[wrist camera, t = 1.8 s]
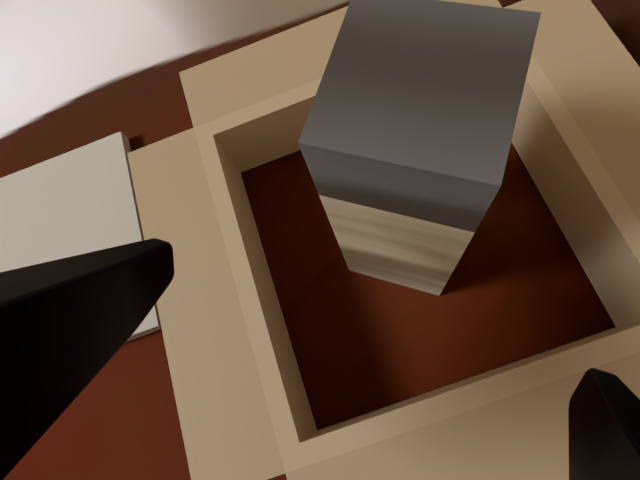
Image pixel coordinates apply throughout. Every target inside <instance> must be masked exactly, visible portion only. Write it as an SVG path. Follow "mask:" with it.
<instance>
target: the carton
mask: <svg viewBox="0 0 640 480" xmlns="http://www.w3.org/2000/svg"><path fill="white" fill-rule="evenodd" d="M440 1H449V2H457V3H466V4H474V5H482V6H491V7H499V8H502V6H501V5H500V3H499V1H498V0H440ZM504 8H508V9H516V10H524V11H533V12H541V16H540V20H539V24H538V29H537V33H536V37H535V42H534V46H533V50H532V55H531V59H530V63H529V68H528V72H527V76H526V81H525V85H524V89H523V93H522V98H521V102H520V106H519V111H518V115H517V119H516V124H515V128H514V132H513V137H512V141H511V142H512V144H513V146H514V147H515V149H516V151H517V153H518V154H519V156H520V158H521V160H522V162H523V163H524V165H525V167H526V169H527V170H528V172H529V174H530V176H531V177H532V179H533V181H534V183H535V185H536V186H537V188H538V190H539V192H540V193H541V195H542V197H543V199H544V201H545V202H546V204H547V206H548V208H549V209H550V211H551V213H552V215H553V216H554V218H555V220H556V222H557V224H558V225H559V227H560V229H561V231H562V232H563V234H564V236H565V238H566V239H567V241H568V243H569V245H570V247H571V248H572V250H573V252H574V254H575V255H576V257H577V259H578V261H579V262H580V264H581V266H582V268H583V270H584V271H585V273H586V275H587V277H588V278H589V280H590V282H591V284H592V285H593V287H594V289H595V291H596V293H597V294H598V296H599V298H600V300H601V301H602V303H603V305H604V307H605V308H606V310H607V312H608V314H609V316H610V317H611V319H612V321H613V323H614V324H615V326H616V327H615V328H612V329H609V330H606V331H603V332H600V333H597V334H594V335H592V336H589V337H586V338H583V339H580V340H577V341H574V342H571V343H568V344H566V345H563V346H560V347H557V348H554V349H551V350H548V351H545V352H543V353H540V354H537V355H534V356H531V357H528V358H525V359H522V360H519V361H517V362H514V363H511V364H508V365H505V366H502V367H499V368H496V369H493V370H491V371H488V372H485V373H482V374H479V375H476V376H473V377H470V378H467V379H465V380H462V381H459V382H456V383H453V384H450V385H447V386H444V387H442V388H439V389H436V390H433V391H430V392H427V393H424V394H421V395H418V396H416V397H413V398H410V399H407V400H404V401H401V402H398V403H395V404H392V405H390V406H387V407H384V408H381V409H378V410H375V411H372V412H369V413H366V414H364V415H361V416H358V417H355V418H352V419H349V420H346V421H343V422H341V423H338V424H335V425H332V426H329V427H326V428H323V429H320V430H317V428H316V424H315V421H314V418H313V414H312V411H311V408H310V404H309V401H308V398H307V394H306V391H305V388H304V384H303V381H302V377H301V374H300V371H299V367H298V364H297V361H296V357H295V354H294V351H293V347H292V344H291V340H290V337H289V334H288V330H287V327H286V324H285V320H284V317H283V314H282V310H281V307H280V304H279V300H278V297H277V293H276V290H275V287H274V283H273V280H272V277H271V273H270V270H269V267H268V263H267V260H266V257H265V253H264V250H263V246H262V243H261V240H260V236H259V233H258V230H257V226H256V223H255V220H254V216H253V213H252V209H251V206H250V203H249V199H248V196H247V193H246V189H245V186H244V183H243V179H242V176H241V172H244V171H246V170H249V169H251V168H254V167H257V166H259V165H262V164H265V163H267V162H270V161H273V160H275V159H278V158H280V157H283V156H286V155H288V154H291V153H294V152H296V151H299V150H300V147H299V145H298V141H299V138H300V136H301V133H302V130H303V128H304V125H305V122H306V120H307V117H308V114H309V111H310V109H311V106H312V103H313V101H314V98H315V95H316V93H317V90H318V87H319V84H320V82H321V79H322V76H323V74H324V71H325V68H326V65H327V63H328V60H329V57H330V55H331V52H332V49H333V47H334V44H335V41H336V38H337V36H338V33H339V30H340V28H341V25H342V22H343V20H344V17H345V14H346V11H347V9H348V6H347V7H344V8H342V9H339V10H337V11H334V12H332V13H329V14H327V15H324V16H322V17H319V18H316V19H314V20H311V21H309V22H306V23H304V24H301V25H299V26H296V27H294V28H291V29H289V30H286V31H284V32H281V33H278V34H276V35H273V36H271V37H268V38H266V39H263V40H261V41H258V42H256V43H253V44H251V45H248V46H245V47H243V48H240V49H238V50H235V51H233V52H230V53H228V54H225V55H223V56H220V57H218V58H215V59H212V60H210V61H207V62H205V63H202V64H200V65H197V66H195V67H192V68H190V69H187V70H185V71H182V72H179V74H180V78H181V82H182V86H183V89H184V93H185V97H186V101H187V104H188V108H189V112H190V116H191V119H192V123H193V127H194V128H192V129H189V130H186V131H184V132H181V133H179V134H176V135H173V136H171V137H168V138H166V139H163V140H161V141H158V142H155V143H153V144H150V145H148V146H145V147H142V148H140V149H137V150H135V151H132V152H129V153H127V154H128V160H129V165H130V170H131V175H132V180H133V185H134V190H135V195H136V200H137V205H138V211H139V216H140V221H141V226H142V231H143V236H144V240H147V239H152V238H157V239H160V240H164V241H167V242H169V243H170V244H171V245H172V247H173V258H174V277H173V279H172V281H171V283H170V284H169V286H168V287H167V289H166V290H165V291H164V293H163V294H162V295H161V297H160V298H159V300H158V301H157V307H158V312H159V318H160V323H161V328H162V333H163V338H164V343H165V348H166V353H167V358H168V363H169V368H170V374H171V379H172V384H173V389H174V394H175V399H176V404H177V409H178V414H179V419H180V425H181V430H182V435H183V440H184V445H185V450H186V455H187V460H188V465H189V470H190V476H191V480H267V479H270V478H273V477H276V476H279V475H282V474H286V477H287V480H569V430H568V407H569V402H570V399H571V396H572V394H573V393H574V391H575V389H576V388H577V386H578V384H579V382H580V381H581V379H582V377H583V376H584V374H585V372H586V371H587V370H588V369H590V368H596V369H599V370H603V371H606V372H610V373H613V374H615V375H616V376H617V377H619V378H620V379H621V380H622V382H623V383H624V384H625V385H626V386H627V387H628V388H629V389H630V390H631V391H632V392H633V393H634V394H635V395H636V396H637V397H638V398H639V399H640V67H639V66H638V64H637V63H636V62H635V60H634V59H633V58H632V56H631V55H630V53H629V52H628V51H627V49H626V48H625V47H624V45H623V44H622V43H621V41H620V40H619V39H618V37H617V36H616V35H615V33H614V32H613V30H612V29H611V28H610V26H609V25H608V24H607V22H606V21H605V20H604V18H603V17H602V16H601V14H600V13H599V12H598V10H597V9H596V8H595V6H594V5H593V3H592V2H591V1H590V0H522V1H520V2H517V3H515V4H512V5H509V6H507V7H504Z"/></svg>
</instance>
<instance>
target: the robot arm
mask: <svg viewBox="0 0 640 480" xmlns="http://www.w3.org/2000/svg"><path fill="white" fill-rule="evenodd" d="M173 277H174V258H173V247H172V245H171V244H170V243H169V242H167V241H164V240H160V239H157V238H152V239H147V240H143V241H139V242H134V243H130V244H125V245H121V246H116V247H112V248H107V249H103V250H98V251H94V252H89V253H85V254H80V255H76V256H71V257H67V258H62V259H58V260H54V261H49V262H45V263H40V264H36V265H31V266H27V267H22V268H18V269H13V270H9V271H4V272H0V480H3V479H4V478H5V477H6V476H7V474H8V473H9V472H10V471H11V470H12V469H13V468H14V467H15V465H16V464H17V463H18V462H19V461H20V460H21V459H22V458H23V457H24V455H25V454H26V453H27V452H28V451H29V450H30V449H31V448H32V446H33V445H34V444H35V443H36V442H37V441H38V440H39V439H40V438H41V436H42V435H43V434H44V433H45V432H46V431H47V430H48V429H49V427H50V426H51V425H52V424H53V423H54V422H55V421H56V420H57V418H58V417H59V416H60V415H61V414H62V413H63V412H64V411H65V410H66V408H67V407H68V406H69V405H70V404H71V403H72V402H73V401H74V399H75V398H76V397H77V396H78V395H79V394H80V393H81V392H82V390H83V389H84V388H85V387H86V386H87V385H88V384H89V383H90V382H91V380H92V379H93V378H94V377H95V376H96V375H97V374H98V373H99V371H100V370H101V369H102V368H103V367H104V366H105V365H106V364H107V363H108V361H109V360H110V359H111V358H112V357H113V356H114V355H115V354H116V352H117V351H118V350H119V349H120V348H121V347H122V346H123V345H124V343H125V342H126V341H127V340H128V339H129V338H130V337H131V336H132V334H133V333H134V332H135V331H136V330H137V328H138V327H139V326H140V324H141V323H142V322H143V320H144V319H145V318H146V316H147V315H148V313H149V312H150V311H151V309H152V308H153V307H154V305H155V304H156V302H157V301H158V300H159V298H160V297H161V295H162V294H163V293H164V291H165V290H166V289H167V287H168V286H169V284H170V283H171V281H172V279H173ZM568 430H569V480H640V399H639V398H638V397H637V396H636V395H635V394H634V393H633V392H632V391H631V390H630V389H629V388H628V387H627V386H626V385H625V384H624V383H623V382H622V380H621V379H620V378H619V377H617V376H616V375H615V374H613V373H610V372H606V371H603V370H599V369H596V368H590V369H588V370H587V371H586V372H585V374H584V376H583V377H582V379H581V381H580V382H579V384H578V386H577V388H576V389H575V391H574V393H573V394H572V396H571V399H570V402H569V407H568Z"/></svg>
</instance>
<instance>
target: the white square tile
mask: <svg viewBox="0 0 640 480" xmlns="http://www.w3.org/2000/svg"><path fill="white" fill-rule="evenodd" d="M129 152H131V149H130V144H129V139H128V138H127V137H126V136H125V135H124V134H123V133H122V132H118V133H116V134H113V135H111V136H108V137H106V138H103V139H100V140H98V141H95V142H93V143H90V144H88V145H85V146H82V147H80V148H77V149H75V150H72V151H70V152H67V153H64V154H62V155H59V156H57V157H54V158H52V159H49V160H47V161H44V162H41V163H39V164H36V165H34V166H31V167H29V168H26V169H23V170H21V171H18V172H16V173H13V174H11V175H8V176H5V177H3V178H0V272H4V271H9V270H13V269H18V268H22V267H27V266H31V265H36V264H40V263H45V262H49V261H54V260H58V259H62V258H67V257H71V256H76V255H80V254H85V253H89V252H94V251H98V250H103V249H107V248H112V247H116V246H121V245H125V244H130V243H134V242H139V241H143V240H144V236H143V231H142V226H141V221H140V216H139V211H138V205H137V200H136V195H135V190H134V185H133V180H132V175H131V170H130V165H129V160H128V154H127V153H129ZM161 329H162V328H161V323H160V318H159V312H158V307H157V302H156V304H155V305H154V307H153V308H152V309H151V311H150V312H149V313H148V315H147V316H146V318H145V319H144V320H143V322H142V323H141V324H140V326H139V327H138V328H137V330H136V331H135V332H134V333H133V334H132V336H131V337H130V338H129V339H128V340H127V341H126V342H128V341H130V340H133V339H136V338H139V337H141V336H144V335H147V334H150V333H152V332H155V331H158V330H161Z"/></svg>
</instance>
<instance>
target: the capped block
mask: <svg viewBox="0 0 640 480" xmlns="http://www.w3.org/2000/svg"><path fill="white" fill-rule="evenodd" d="M540 16H541V12H533V11H524V10H516V9H508V8H499V7H491V6H482V5H474V4H466V3H457V2H449V1H440V0H351V1H350V3H349V6H348V9H347V11H346V14H345V17H344V20H343V22H342V25H341V28H340V30H339V33H338V36H337V38H336V41H335V44H334V47H333V49H332V52H331V55H330V57H329V60H328V63H327V65H326V68H325V71H324V74H323V76H322V79H321V82H320V84H319V87H318V90H317V93H316V95H315V98H314V101H313V103H312V106H311V109H310V111H309V114H308V117H307V120H306V122H305V125H304V128H303V130H302V133H301V136H300V138H299V141H298V145H299V147H300V150H301V152H302V154H303V157H304V159H305V162H306V164H307V167H308V169H309V172H310V174H311V177H312V179H313V182H314V184H315V187H316V189H317V192H318V194H319V197H320V199H321V202H322V204H323V207H324V209H325V212H326V214H327V217H328V219H329V222H330V224H331V227H332V229H333V231H334V234H335V236H336V239H337V241H338V244H339V246H340V249H341V251H342V254H343V256H344V259H345V261H346V264H347V266H348V269H349V271H353V272H356V273H360V274H363V275H367V276H371V277H374V278H378V279H381V280H385V281H388V282H392V283H395V284H399V285H403V286H406V287H410V288H413V289H417V290H420V291H424V292H428V293H431V294H435V295H438V296H439V295H440V294H441V292H442V290H443V288H444V287H445V285H446V283H447V281H448V279H449V278H450V276H451V274H452V272H453V271H454V269H455V267H456V265H457V263H458V262H459V260H460V258H461V256H462V255H463V253H464V251H465V249H466V247H467V246H468V244H469V242H470V240H471V239H472V237H473V235H474V233H475V232H476V230H477V228H478V226H479V224H480V223H481V221H482V219H483V217H484V216H485V214H486V212H487V210H488V208H489V207H490V205H491V203H492V201H493V200H494V198H495V196H496V194H497V192H498V191H499V189H500V187H501V184H502V180H503V175H504V171H505V167H506V162H507V158H508V154H509V150H510V145H511V141H512V137H513V132H514V128H515V124H516V119H517V115H518V111H519V106H520V102H521V98H522V93H523V89H524V85H525V81H526V76H527V72H528V68H529V63H530V59H531V55H532V50H533V46H534V42H535V37H536V33H537V29H538V24H539V20H540Z"/></svg>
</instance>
